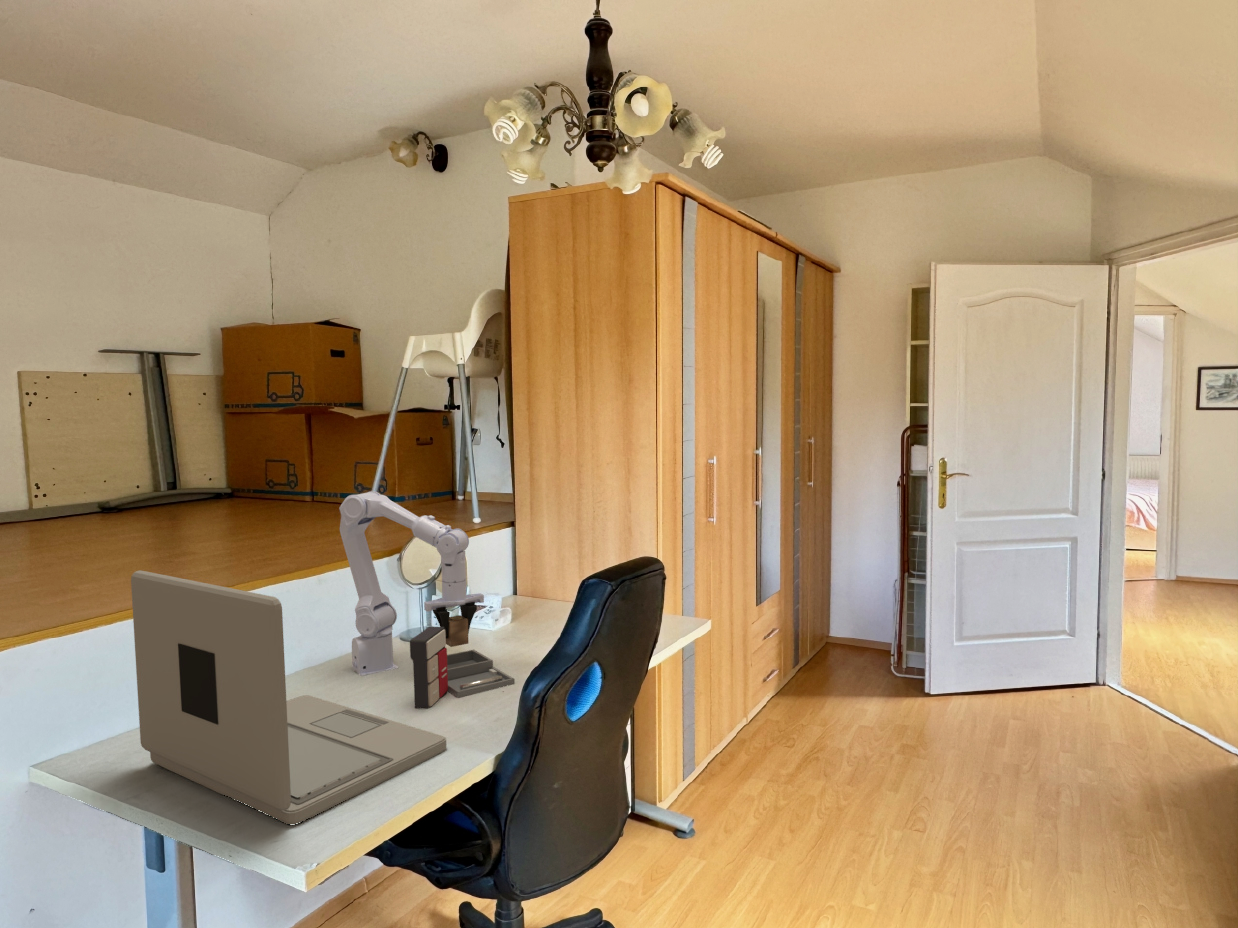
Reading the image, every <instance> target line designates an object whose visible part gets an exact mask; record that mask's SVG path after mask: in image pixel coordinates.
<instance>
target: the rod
mask: <svg viewBox="0 0 1238 928" xmlns="http://www.w3.org/2000/svg"><path fill="white" fill-rule="evenodd" d="M499 681H502V676H497V677H492V678H488V679H483V680H479V681H475V682H470V683H466V684H461V685H460V690H464V689H468V688H473V687H477V686H481V685H486V684H490V683H494V682H499Z"/></svg>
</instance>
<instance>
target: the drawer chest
mask: <svg viewBox="0 0 1238 928" xmlns="http://www.w3.org/2000/svg"><path fill="white" fill-rule="evenodd" d="M446 645H447V644H446V635H445V629H444V627H440V626H429V627H427V628H425V629H424V630H423V631H421V632H420V633H418V634H417V635H415V636H414V637H412V638H411V639H410V640H409V654H410V657H409V658H410V659H411V660H412V663H413V664H412V666H413V667H412V668H413V669H412V670H413V694H414V698H413V699H414V709H423V710H424V709H425V710H426V709H429V708H430V707H433V705H434V704H435V703H436V702H438V700H439V699H440V698H442V697H444V695H445V694H446V693H447V692H448V671H447V655H448V651H447V650H448V648H447V647H446Z"/></svg>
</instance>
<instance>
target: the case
mask: <svg viewBox="0 0 1238 928" xmlns="http://www.w3.org/2000/svg"><path fill="white" fill-rule="evenodd" d="M458 652H459V653H458ZM458 652H454V654H453V653H450V654H449V653H448V654H449V655H448V654H447V671H448V681H449V680H454V679H458V678H463V677H467V676H472V675H476V674H481V673H485V672H489V669H492V667H494V661H493V659H491V658H489V657H488V656H486V655H484V654H483V653H481V652H479V651H477V650H475V649H469V651H468V650H465V651H464V652H463V651H458Z"/></svg>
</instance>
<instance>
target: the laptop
mask: <svg viewBox="0 0 1238 928" xmlns="http://www.w3.org/2000/svg"><path fill="white" fill-rule="evenodd" d="M130 585H131V587H130V588H131V602H132V619H133V622H132V623H133V634H134V635H133V636H134V638H133V639H134V654H135V655H134V656H135V657H134V658H135V671H136V673H135V674H136V689H137V704H138V705H137V706H138V720H139V721H138V723H139V724H138V725H139V736H140V737H139V738H140V739H139V740H140V745H141V747H142V748H143V749H144V750H145V751H147V752H149V754H150V760H151V762H152V763H153V764H155V765H156V766H157V765H158V766H160V767H162V768H164V769H166V770H169V771H171V772H173V773H175V774H176V775H179V776H182V777H184V778H185V779H188V780H190V781H192V782H193V783H197V784H198V785H200V786H202V787H205V788H207V789H209V790H212V791H213V792H216V793H217V794H220V793H221V794H220V795H222V794H223V796H224V795H225V796H224V797H226V796H228V797H227V798H229V797H231V798H233V799H235V800H238V801H240V802H242V803H245V804H247V805H249V806H251V807H253V808H255V809H257V810H260V811H262V812H264V813H266V814H268V815H270V816H272V817H274V818H277V819H278V820H280V821H282V822H284V823H283V824H285V823H287V824H296V823H299V822H302V821H304V820H306V819H308V818H310V819H311V817H312V818H314V817H315V815H316V816H318V815H320V814H322V813H324V812H326V811H327V809H328V810H330V809H332V808H333V806H334V807H336V806H338V805H340V804H342V803H344V802H346V801H348V800H349V798H350V799H352V798H354V797H355V796H357V795H361V794H362V793H364V792H366V791H368V790H370V789H372V788H375V786H378V785H380V784H382V783H384V782H386V781H388V780H389V779H391V778H392V779H393V778H394V777H396V776H398V775H400V774H402V773H403V772H406V771H407V770H410V769H412V768H414V767H415V766H418V765H419V764H422V763H424V762H426V761H427V760H430V759H431V758H433V757H435V756H437V755H440V754H441V753H443V752H445V751H446V750H447V737H445V736H443V735H441V734H438V733H434V732H431V731H427V730H424V729H421V728H417V727H414V726H411V725H409V724H404V723H402V722H398V721H394V720H392V719H389V718H384V717H381V716H377V715H374V714H371V713H368V712H365V711H361V710H358V709H356V708H351V707H349V706H345V705H341V704H339V703H335V702H332V701H328V700H325V699H322V698H319V697H316V696H313V695H309V694H305V695H300V696H297V697H296V696H295V697H293V698H291V699H289V700H287V688H286V687H287V685H286V684H287V683H286V665H285V661H286V659H285V645H284V644H285V643H284V627H283V626H284V622H283V607H282V603H281V601H280V600H279V598H277V597H276V596H272V595H267V594H261V593H256V592H253V591H252V592H251V591H247V590H246V591H245V590H241V589H236V588H232V587H227V586H221V585H216V584H211V583H206V582H201V581H196V580H192V579H186V578H180V577H176V576H171V575H165V574H160V573H155V572H150V571H146V570H145V571H144V570H136V571H134V572H133V573H132V574H131V578H130ZM231 798H230V799H231ZM233 799H232V800H233ZM235 800H234V801H235ZM345 800H346V801H345ZM343 801H344V802H343ZM341 802H342V803H341ZM339 803H340V804H339ZM337 804H338V805H337ZM335 805H336V806H335ZM331 807H332V808H331ZM329 808H330V809H329ZM257 810H256V811H257ZM325 810H326V811H325ZM323 811H324V812H323ZM321 812H322V813H321ZM319 813H320V814H319ZM317 814H318V815H317ZM313 816H314V817H313ZM272 817H271V818H272ZM274 818H273V819H274ZM278 820H277V821H278ZM308 820H309V819H308ZM280 821H279V822H280ZM306 821H307V820H306ZM282 822H281V823H282ZM304 822H305V821H304ZM302 823H303V822H302ZM287 824H286V825H287Z"/></svg>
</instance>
